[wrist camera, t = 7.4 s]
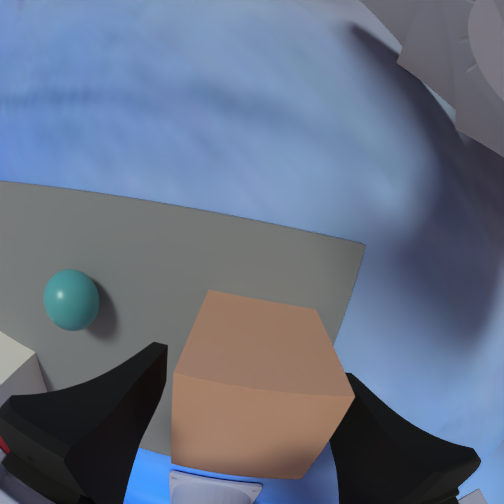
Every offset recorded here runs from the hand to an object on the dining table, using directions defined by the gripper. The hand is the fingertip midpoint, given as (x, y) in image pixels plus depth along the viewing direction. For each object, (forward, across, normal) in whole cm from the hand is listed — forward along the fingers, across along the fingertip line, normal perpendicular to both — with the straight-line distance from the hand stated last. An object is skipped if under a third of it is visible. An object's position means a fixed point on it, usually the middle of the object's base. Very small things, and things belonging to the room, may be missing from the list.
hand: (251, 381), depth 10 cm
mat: (+3, +8, +3) cm, 10 cm away
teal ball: (+1, +9, -1) cm, 9 cm away
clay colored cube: (+3, 0, 0) cm, 3 cm away
